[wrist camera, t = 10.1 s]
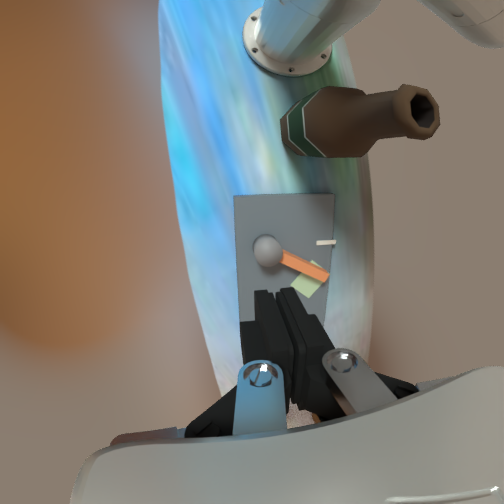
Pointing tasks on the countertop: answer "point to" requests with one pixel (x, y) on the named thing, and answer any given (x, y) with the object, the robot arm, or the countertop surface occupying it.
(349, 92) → the beer bottle
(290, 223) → the tuner board
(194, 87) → the countertop surface
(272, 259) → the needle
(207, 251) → the countertop surface
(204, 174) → the countertop surface
